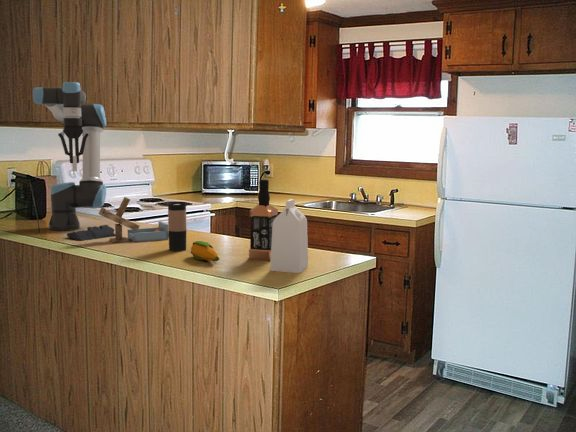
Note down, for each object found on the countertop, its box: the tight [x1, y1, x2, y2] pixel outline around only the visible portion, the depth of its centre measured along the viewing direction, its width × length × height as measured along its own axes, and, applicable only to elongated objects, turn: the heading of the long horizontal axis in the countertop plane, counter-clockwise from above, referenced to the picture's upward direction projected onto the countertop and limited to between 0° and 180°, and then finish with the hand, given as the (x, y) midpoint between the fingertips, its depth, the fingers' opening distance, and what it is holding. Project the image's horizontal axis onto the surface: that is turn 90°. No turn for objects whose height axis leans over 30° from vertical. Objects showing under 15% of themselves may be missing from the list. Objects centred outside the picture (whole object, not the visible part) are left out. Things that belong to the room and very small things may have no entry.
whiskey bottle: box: [248, 178, 279, 262], centre depth 249 cm, size 10×10×32 cm
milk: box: [269, 198, 309, 274], centre depth 231 cm, size 12×12×26 cm
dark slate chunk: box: [66, 224, 115, 242], centre depth 295 cm, size 15×22×5 cm
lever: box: [98, 196, 141, 231], centre depth 284 cm, size 18×9×12 cm, turn 118°
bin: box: [127, 220, 169, 243], centre depth 290 cm, size 16×12×7 cm
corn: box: [190, 240, 220, 262], centre depth 245 cm, size 7×8×20 cm
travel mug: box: [167, 202, 187, 252], centre depth 264 cm, size 8×8×20 cm
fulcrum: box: [109, 223, 129, 244], centre depth 284 cm, size 7×7×8 cm
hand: (74, 170), depth 277 cm, fingers closed
